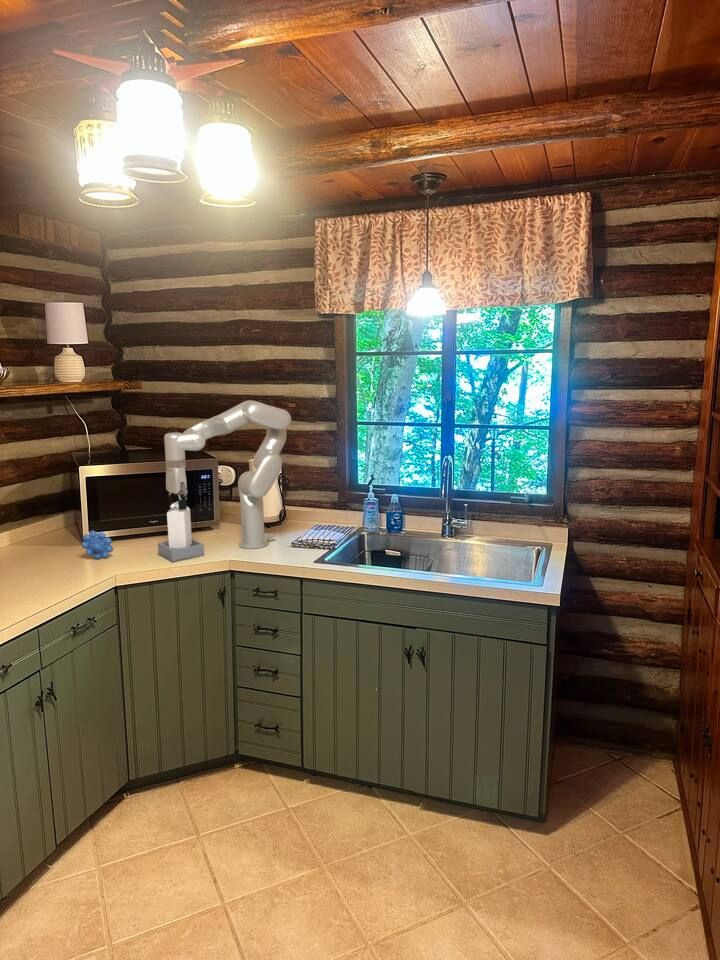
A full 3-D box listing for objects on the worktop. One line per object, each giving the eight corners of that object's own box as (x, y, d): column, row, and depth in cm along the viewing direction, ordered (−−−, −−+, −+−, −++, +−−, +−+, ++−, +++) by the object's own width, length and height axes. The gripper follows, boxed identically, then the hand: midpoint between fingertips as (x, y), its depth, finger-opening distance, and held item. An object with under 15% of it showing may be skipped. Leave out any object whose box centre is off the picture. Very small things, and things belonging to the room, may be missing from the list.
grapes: (82, 563, 270) (79, 534, 268) (83, 559, 277) (80, 530, 274) (113, 560, 274) (111, 531, 272) (114, 556, 280) (111, 527, 278)
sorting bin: (189, 548, 290) (188, 537, 289) (204, 555, 279) (203, 544, 278) (158, 554, 281) (157, 543, 280) (172, 562, 271) (171, 550, 270)
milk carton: (192, 544, 283) (189, 499, 279) (186, 549, 276) (183, 502, 272) (175, 543, 283) (172, 498, 280) (169, 548, 276) (165, 502, 273)
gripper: (157, 462, 277) (160, 505, 281) (176, 468, 264) (178, 512, 267) (175, 460, 282) (178, 502, 285) (194, 465, 269) (196, 509, 272)
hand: (178, 507), depth 276 cm, fingers closed on milk carton, 7 cm apart
